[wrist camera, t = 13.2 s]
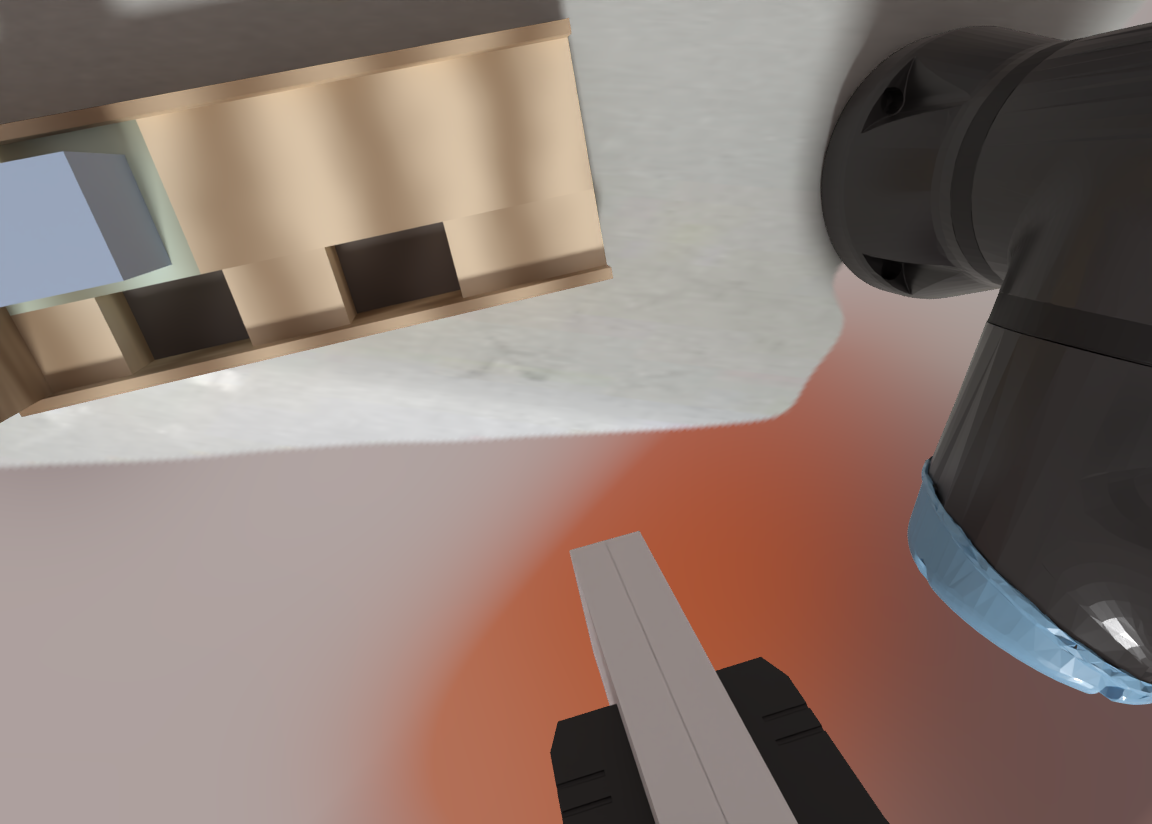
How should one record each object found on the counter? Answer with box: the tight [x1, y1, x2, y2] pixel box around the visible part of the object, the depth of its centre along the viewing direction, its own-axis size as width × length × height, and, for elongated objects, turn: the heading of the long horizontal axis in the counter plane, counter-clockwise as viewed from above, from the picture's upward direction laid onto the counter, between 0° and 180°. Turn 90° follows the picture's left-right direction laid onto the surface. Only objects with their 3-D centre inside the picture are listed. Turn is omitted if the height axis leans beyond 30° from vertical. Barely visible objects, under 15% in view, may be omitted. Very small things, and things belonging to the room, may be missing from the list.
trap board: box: [0, 18, 613, 423], centre depth 30 cm, size 30×12×8 cm, turn 101°
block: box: [0, 151, 172, 307], centre depth 27 cm, size 5×5×5 cm
